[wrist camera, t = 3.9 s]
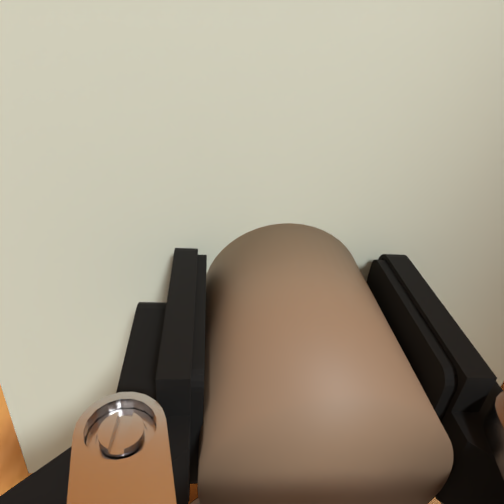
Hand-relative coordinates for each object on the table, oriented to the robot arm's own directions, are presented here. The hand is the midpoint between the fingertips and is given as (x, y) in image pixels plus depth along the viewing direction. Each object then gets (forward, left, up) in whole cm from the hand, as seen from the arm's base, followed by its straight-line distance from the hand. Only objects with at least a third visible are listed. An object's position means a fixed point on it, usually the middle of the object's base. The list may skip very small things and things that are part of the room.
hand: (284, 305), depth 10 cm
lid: (0, 0, -2) cm, 2 cm away
